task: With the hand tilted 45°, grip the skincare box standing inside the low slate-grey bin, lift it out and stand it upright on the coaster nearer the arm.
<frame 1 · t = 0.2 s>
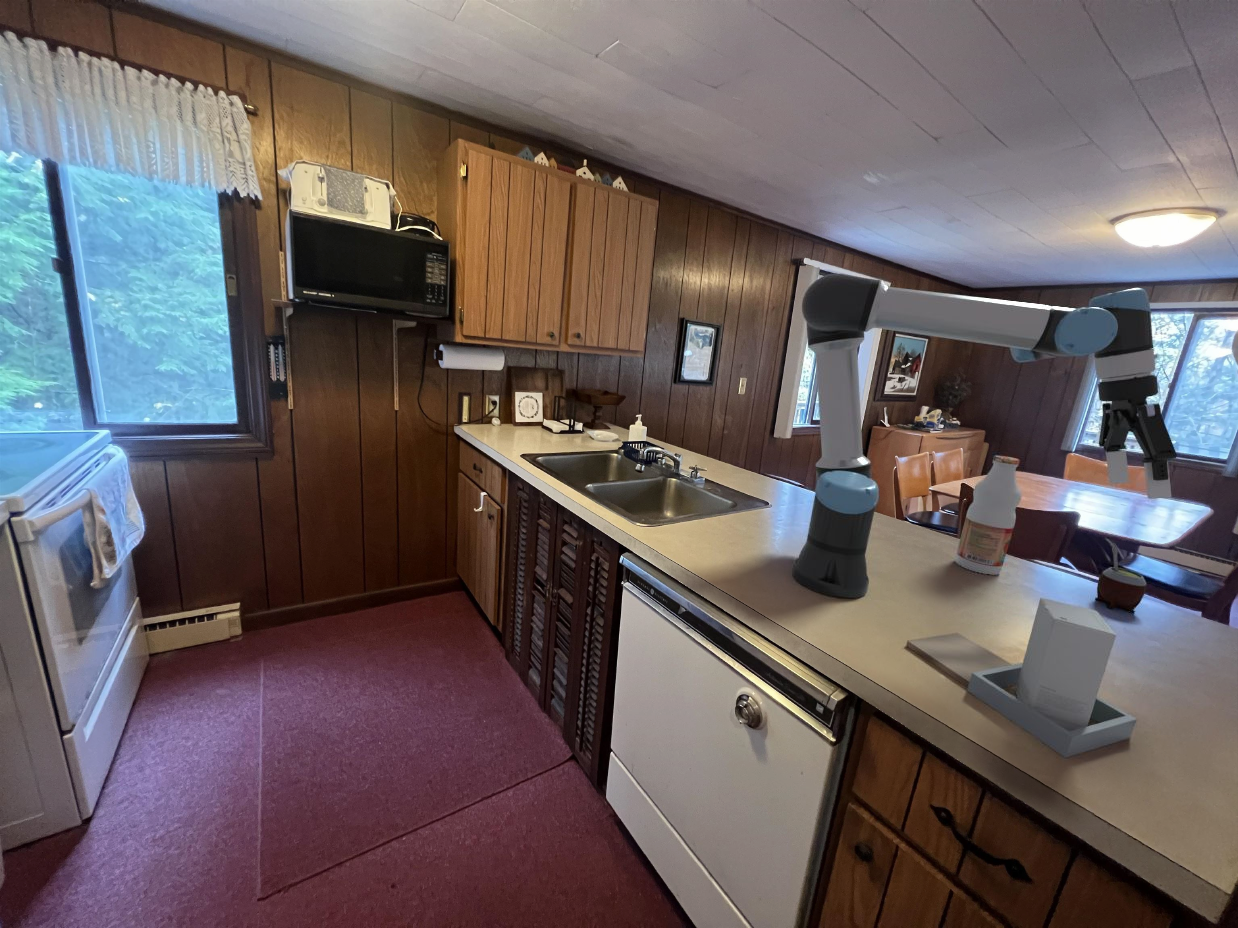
hand: (1138, 490, 90), 28 cm above the counter, tool tilted 20°, fingers open, 13 cm apart
skincare box: (1043, 714, 69), resting in bin
bin: (1044, 712, 69), on the counter
fruit juice: (976, 568, 120), on the counter
coaster: (962, 660, 80), on the counter
mate gourd: (1111, 606, 105), on the counter
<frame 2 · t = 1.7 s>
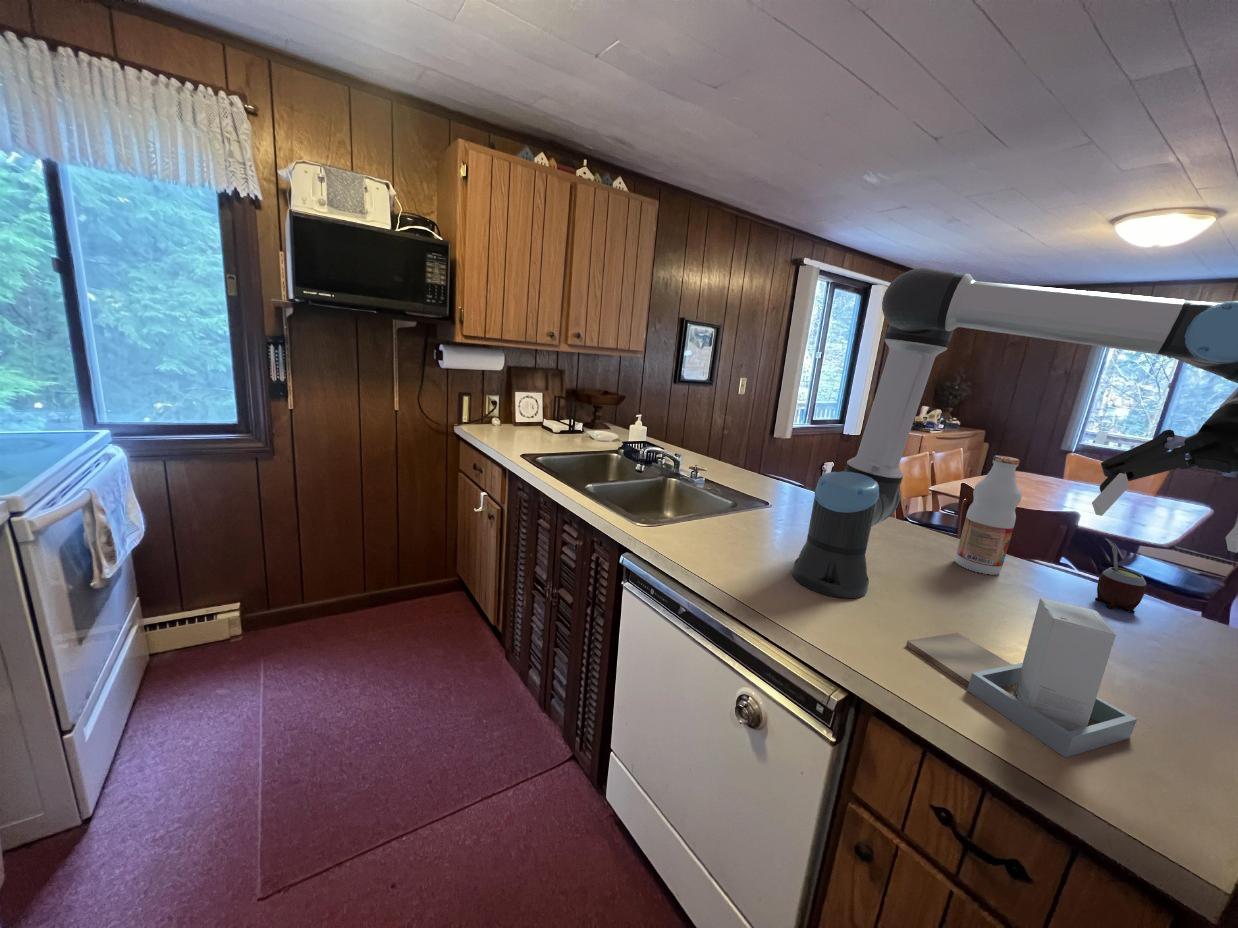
hand: (1157, 525, 66), 28 cm above the counter, tool tilted 45°, fingers open, 13 cm apart
nothing on the counter moved.
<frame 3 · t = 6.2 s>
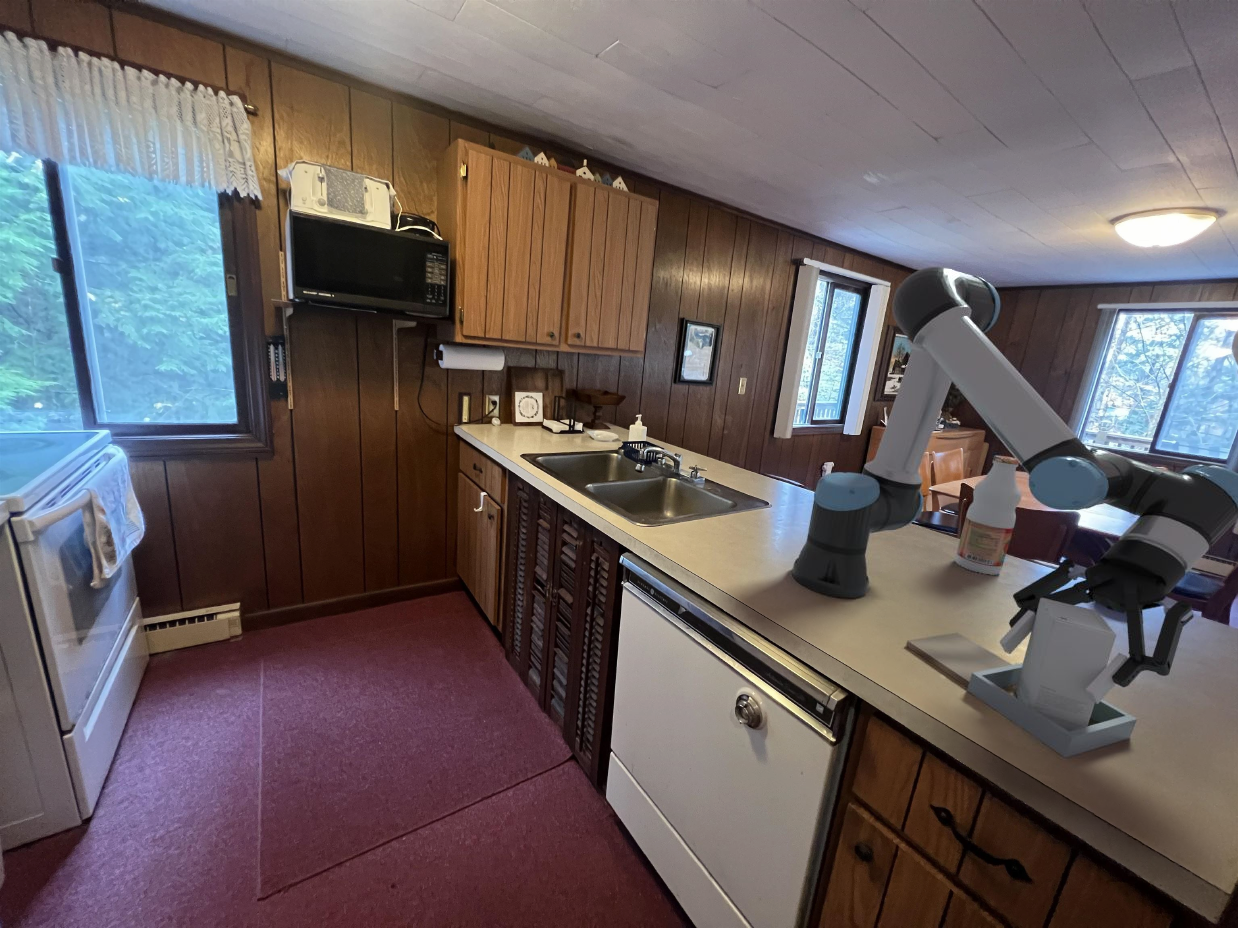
hand: (1044, 670, 66), 7 cm above the counter, tool tilted 45°, fingers closed on skincare box, 10 cm apart
skincare box: (1043, 713, 69), resting in bin, touching gripper
everything else where it was.
when the fingers open (10 cm above the counter, at t = 11.8 s): skincare box drops 1 cm, resting on coaster.
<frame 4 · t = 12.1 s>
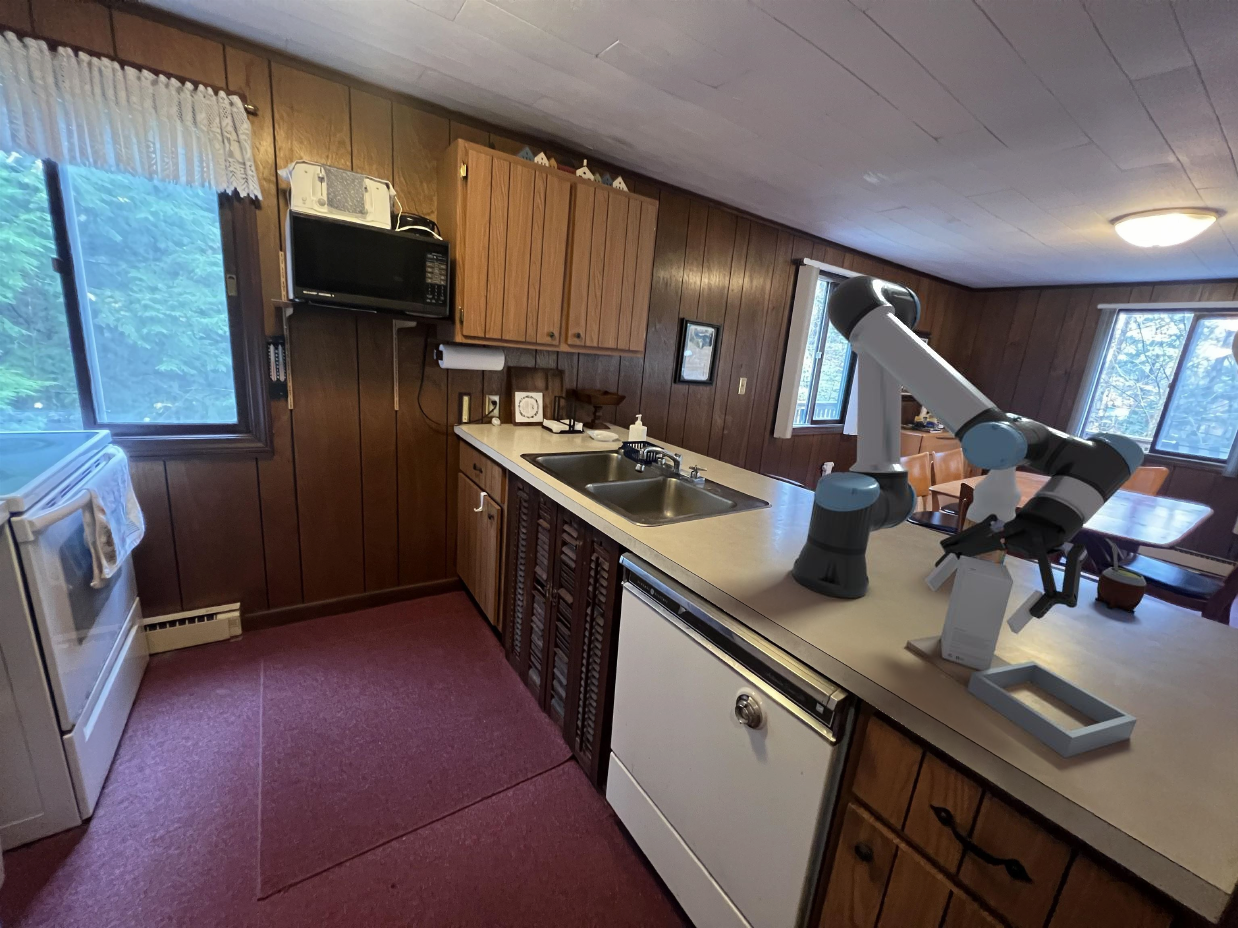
hand: (967, 604, 77), 10 cm above the counter, tool tilted 45°, fingers open, 12 cm apart
skincare box: (961, 654, 80), point 1 cm above the counter, touching coaster
everything else where it was.
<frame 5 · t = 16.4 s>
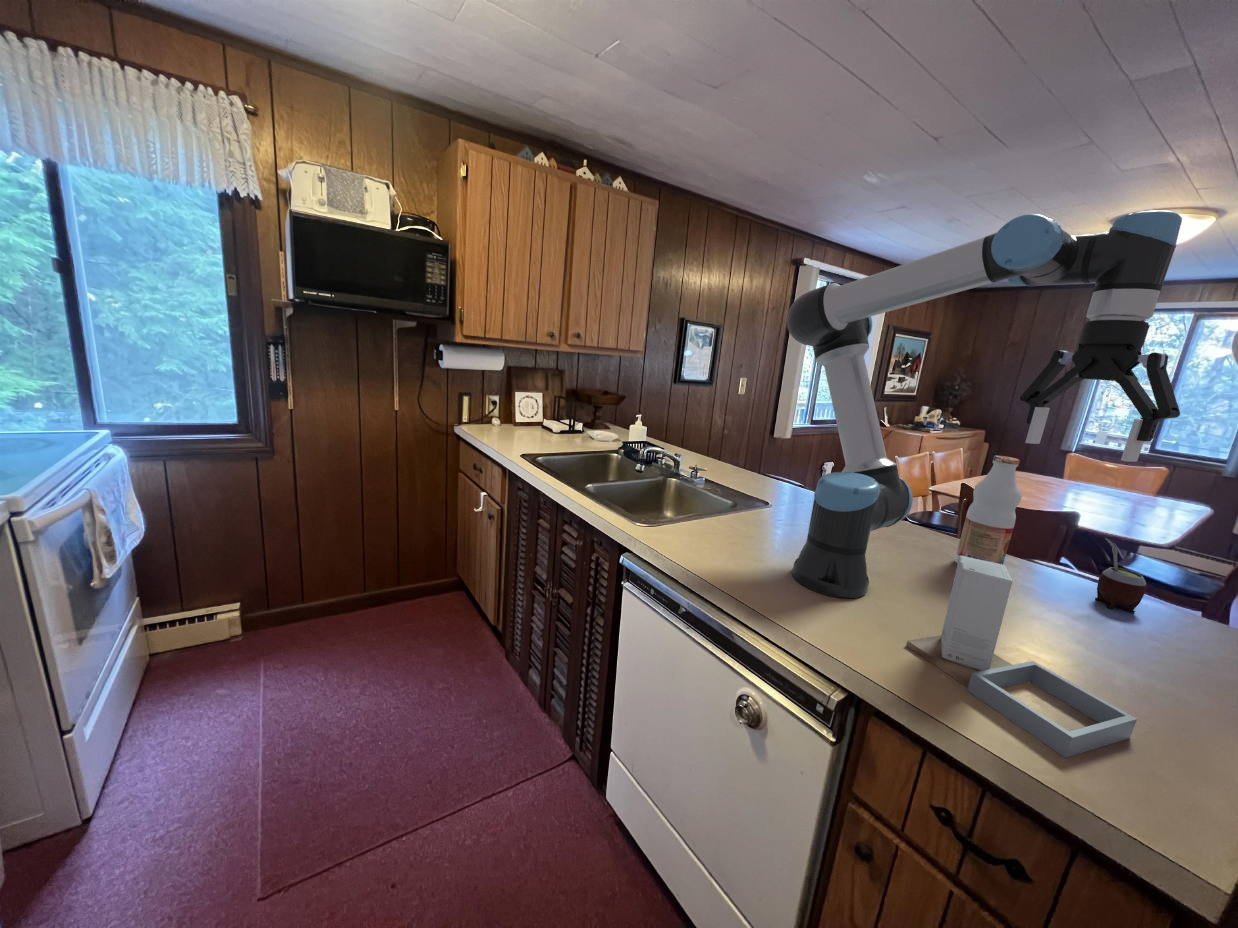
hand: (1076, 451, 82), 35 cm above the counter, tool pointing down, fingers open, 13 cm apart
nothing on the counter moved.
at the end: skincare box inside the target area on the coaster (0.5 cm from its centre), point 0.8 cm above the coaster's base; skincare box tilted 0°; the gripper is holding nothing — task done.
